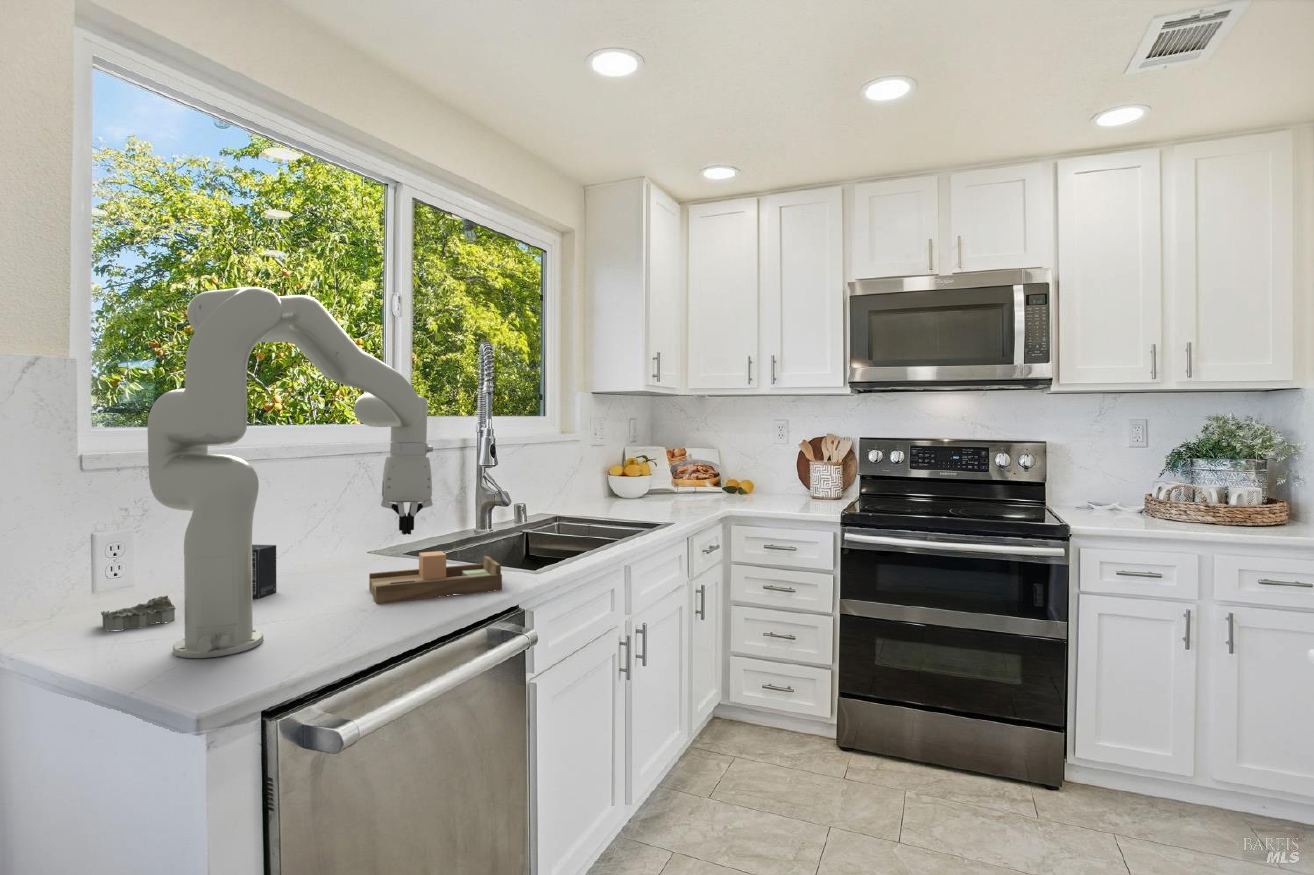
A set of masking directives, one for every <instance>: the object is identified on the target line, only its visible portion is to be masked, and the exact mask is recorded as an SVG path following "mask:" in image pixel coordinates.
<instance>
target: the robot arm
mask: <svg viewBox="0 0 1314 875" xmlns="http://www.w3.org/2000/svg"><path fill="white" fill-rule="evenodd" d="M186 317H187V321H188V323H189V325H190V327H191V328H192V329H193V330H194V333H193V335H192V336H191V339H190V341H189V343H188V346H187V352H186V356H185V357H186V358H185V376H184V378H185V379H184V382H185V383H184V388H177V389H172V390H169V391H167V392H165V393H163V394H162V395H160V396H159V397H158V398H157V399H156V400H155V402H154V403H153V405H152V407H151V408H150V412H149V414H148V418H147V461H148V479H149V480H148V482H149V486H150V489H151V492H152V495H153V496H154V498H155V499H156V501H158V502H159V503H160V504H161V505H163V506H164V507H167V508H169V509H173V510H179V511H190V512H192V513H191V516H190V519H189V522H188V524H187V527H186V528H185V529H186V530H185V533H184V540H183V556H184V559H183V561H184V563H183V564H184V568H183V569H184V572H183V573H184V574H183V578H184V584H183V585H184V588H183V589H184V637H183V638H181V639H179V640H178V641H176V642H175V643H174V644H173V646H172V654H174V655H175V656H177V657H180V658H185V659H206V658H216V657H217V658H218V657H222V656H223V657H224V656H229V655H235V654H238V653H241V652H245V651H249V650H251V649H253V648H254V649H255V648H256V647H258V646H259V645H260V644H262V642H263V641H264V634H263V632H262V631H260V630H258V629H254V628H253V623H254V622H253V598H252V545H253V525H254V522H253V521H254V514H255V509H256V503H257V499H258V496H259V495H258V494H259V487H260V486H259V484H260V483H259V477H258V475H257V472H256V470H255V468H254V467H253V466H252V465H251V464H250V463H249V462H248V461H246V460H244V459H243V458H241V457H237V456H234V455H228V454H219V453H218V454H215V453H213V454H212V453H211V454H210V453H208V447H222V446H223V447H225V446H229V445H233V444H235V443H237V442H239V441H240V440H241V439H243V438H244V436H245V434H246V432H247V427H248V384H247V383H248V381H247V380H248V378H247V376H248V375H247V374H248V362H249V359H250V356H251V353H252V351H253V350H254V348H255V347H256V345H257V344H258V343H289V342H290V343H293V345H294V346H295V347H296V348H297V349H298V350H299V351H300V352H301V353H302V354H303V355H304V356H305V357H306V358H307V360H309V361H310V363H312V364H313V366H314V367H315V368H316V369H317V370H318V371H319V372H320V373H321V374H322V376H324V377H325V378H328V380H329V379H330V381H331V380H332V381H334V382H335V383H338V384H342V385H345V386H349V387H352V388H356V389H358V390H362V391H364V392H366V393H363V394H362V395H360V396H359V397H358V398H357V399H356V400H355V403H354V406H353V411H354V416H355V417H356V419H357V420H358V422H360V423H361V424H363V425H365V426H369V427H373V428H388V427H390V442H389V443H390V444H389V445H390V447H389V448H390V450H389V452H390V453H389V456H386V457H385V461H384V466H383V473H382V485H381V497H382V499H381V503H380V505H381V507H382V508H384V509H390V510H393V511H394V512H395V513H396V514H397V515H398V531H400V532H401V534H402V535H404V536H405V535H412V531H414V529H415V517H416V515H417V514H418V513H419V512H420V511H421V510H422V509H425V508H430V507H432V506H433V500H432V496H433V480H432V468H431V467H432V466H431V462H430V461H431V460H430V457H429V456H427V455H428V453H433V452H434V446H433V445H429V444H428V443H427V439H428V438H427V437H428V436H427V435H428V434H427V433H428V431H427V430H428V429H427V428H428V400H427V398H426V397H425V396H423V395H418V393H417V392H416V390H415V389H414V387H412V385H411V384H410V383H409V381H408V380H407V379H406V378H405V377H404V376H403V375H402V374H401V373H400V372H398V371H397V370H396V369H394V368H393V367H391V366H390V365H388V364H386V363H385V362H383V361H381V360H380V359H378V358H376V357H375V356H373V355H371V354H370V353H368V352H366V351H364V350H362V349H361V348H360V346H358V345H357V344H356V343H355V342H354V341H353V339H352V338H351V337H350V336H349V335H348V333H347V332H346V331H345V330H344V329H343V328H342V327H341V325H340V324H339V323H338V322H337V320H336V319H335V318H334V317H333V316H332V314H331V313H330V312H329V311H328V309H326V307H325V306H324V305H323V304H322V303H321V302H320V301H319V300H318V299H316V298H314V297H312V296H310V295H306V294H293V295H283V296H282V295H281V296H280V295H279V296H278V295H277V294H276V293H275V292H273V291H272V290H270V289H267V288H264V287H258V286H244V287H243V286H242V287H235V288H233V287H232V288H229V289H228V288H225V289H218V290H216V289H215V290H209V291H208V290H207V291H203V292H200V293H199V294H197V295H195V296H194V297H193V298H191V300H190V301H189V303H188V305H187V309H186ZM404 503H409V508H408V512H407V514H406V512H405V505H404Z"/></svg>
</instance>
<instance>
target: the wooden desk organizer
mask: <svg viewBox="0 0 1314 875" xmlns="http://www.w3.org/2000/svg"><path fill="white" fill-rule="evenodd" d="M482 557H483V558H482V563H473V564H464V565H451V566H446V577H441V578H430V579H422V578H421V576H420V575H419V568H416V569H404V570H392V571H391V570H390V571H381V572H369V576H368V578H369V580H368V582H369V584H368V586H369V587H368V588H369V589H368V590H369V591H370V594H371V595H372V596H371V597H373V600H374V602H375V603H376V605H377V604H385V603H395V602H394V601H397V602H403V601H413V600H414V601H415V600H424V598H425V599H432V598H431V597H435V598H440V597H439V596H445V597H448V596H447V595H453V594H464V595H471V594H482V592H483V593H489V592H488V591H493V592H495V591H494V590H502V591H503V574H502V567H501V566H502V564H500V563H499V562H497V561H496V560H494V559H493V558H492V557H490V556H488V555H483V556H482Z"/></svg>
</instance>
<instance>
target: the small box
mask: <svg viewBox="0 0 1314 875" xmlns="http://www.w3.org/2000/svg"><path fill="white" fill-rule="evenodd" d="M274 593H277V544H252V599H260V598H263V597H266V596H269V595H271V594H274Z"/></svg>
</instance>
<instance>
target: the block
mask: <svg viewBox="0 0 1314 875" xmlns="http://www.w3.org/2000/svg"><path fill="white" fill-rule="evenodd" d="M446 567H447V554H446V553H444V551H442V550H438V551H425V552H424V551H423V552H418V569H419V575H420V576H421V578H422V579H430V578H441V577H446Z"/></svg>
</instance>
